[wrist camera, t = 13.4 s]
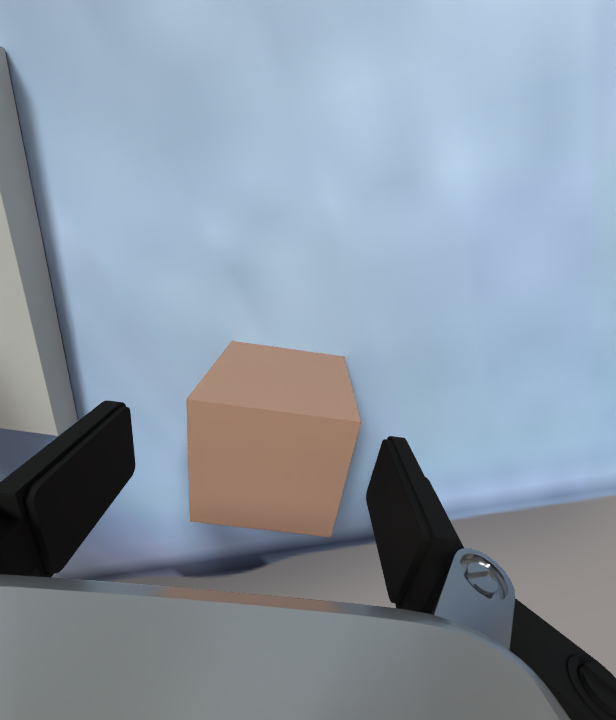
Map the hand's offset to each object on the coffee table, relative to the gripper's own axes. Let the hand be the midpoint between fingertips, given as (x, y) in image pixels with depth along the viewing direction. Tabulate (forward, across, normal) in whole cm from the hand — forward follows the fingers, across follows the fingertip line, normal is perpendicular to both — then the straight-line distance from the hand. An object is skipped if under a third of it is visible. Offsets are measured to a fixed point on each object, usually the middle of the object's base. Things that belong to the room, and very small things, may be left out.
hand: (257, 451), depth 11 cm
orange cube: (+4, -1, 0) cm, 4 cm away
